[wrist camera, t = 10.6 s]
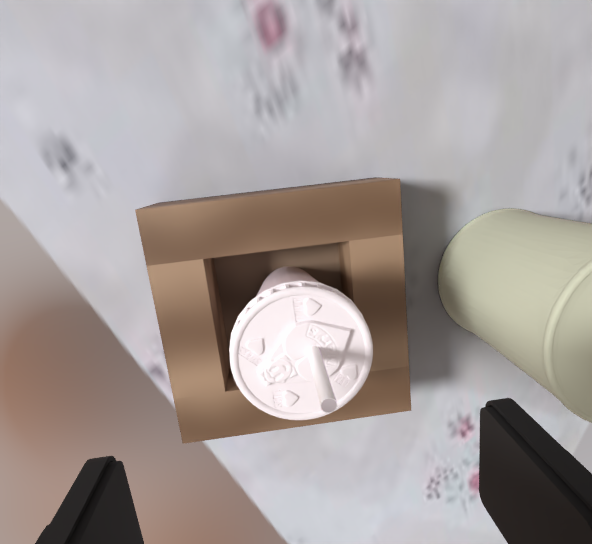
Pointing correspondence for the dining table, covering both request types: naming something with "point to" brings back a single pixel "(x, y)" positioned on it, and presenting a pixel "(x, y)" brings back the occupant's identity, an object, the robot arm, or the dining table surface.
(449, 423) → the dining table surface
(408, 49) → the dining table surface
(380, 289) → the socket block
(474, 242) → the can
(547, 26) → the dining table surface
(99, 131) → the dining table surface
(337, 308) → the smoothie
